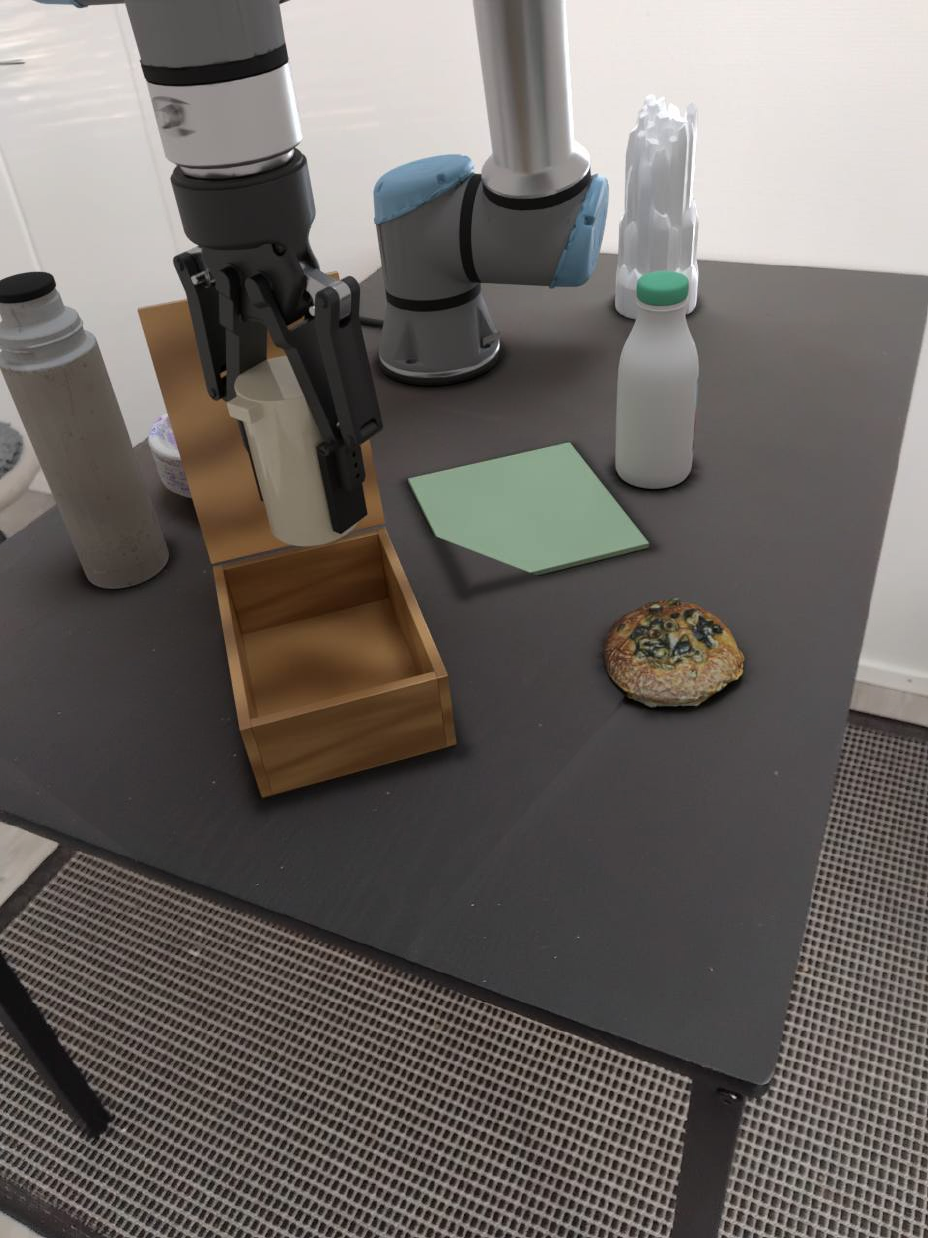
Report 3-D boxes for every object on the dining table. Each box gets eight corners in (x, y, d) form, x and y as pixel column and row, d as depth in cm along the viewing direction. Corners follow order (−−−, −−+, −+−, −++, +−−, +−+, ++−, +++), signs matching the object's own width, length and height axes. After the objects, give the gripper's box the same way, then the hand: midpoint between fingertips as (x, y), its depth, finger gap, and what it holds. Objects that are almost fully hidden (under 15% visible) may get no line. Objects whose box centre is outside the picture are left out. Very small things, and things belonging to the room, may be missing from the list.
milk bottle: (690, 492, 97) (706, 295, 84) (611, 489, 98) (615, 295, 85) (692, 452, 102) (707, 262, 90) (618, 450, 104) (622, 262, 91)
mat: (408, 483, 102) (407, 478, 102) (569, 446, 105) (569, 441, 105) (462, 594, 87) (462, 589, 87) (648, 548, 90) (649, 542, 90)
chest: (457, 751, 73) (448, 675, 68) (264, 805, 71) (239, 730, 66) (396, 597, 88) (384, 526, 83) (234, 637, 85) (212, 566, 80)
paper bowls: (179, 456, 110) (159, 392, 105) (313, 442, 110) (300, 377, 105) (156, 533, 99) (133, 465, 94) (306, 517, 99) (291, 448, 94)
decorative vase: (702, 318, 127) (718, 107, 111) (619, 323, 128) (624, 114, 112) (688, 286, 136) (702, 85, 120) (610, 291, 136) (614, 92, 120)
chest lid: (338, 272, 72) (328, 261, 76) (137, 309, 69) (138, 296, 74) (385, 523, 82) (373, 501, 86) (211, 564, 80) (208, 539, 84)
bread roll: (632, 602, 84) (641, 559, 80) (756, 652, 80) (771, 609, 77) (575, 687, 77) (582, 644, 74) (708, 746, 74) (722, 704, 70)
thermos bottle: (117, 535, 99) (13, 259, 81) (184, 545, 97) (92, 263, 79) (69, 582, 93) (-55, 297, 75) (139, 594, 91) (29, 303, 73)
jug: (307, 564, 65) (272, 417, 58) (242, 535, 68) (201, 392, 61) (397, 497, 70) (376, 354, 63) (333, 473, 74) (306, 334, 66)
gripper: (74, 156, 56) (182, 494, 71) (315, 201, 46) (381, 581, 61) (176, 122, 60) (257, 447, 75) (415, 156, 51) (454, 522, 66)
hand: (313, 507), depth 68 cm, fingers closed on jug, 6 cm apart
